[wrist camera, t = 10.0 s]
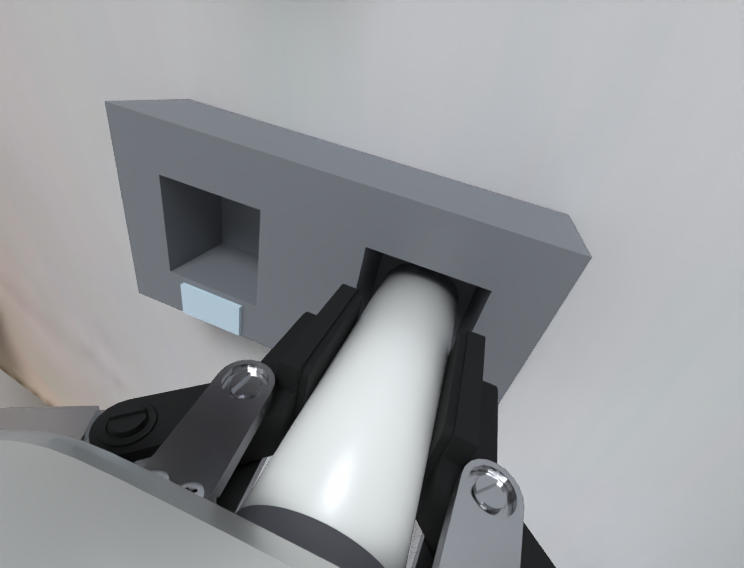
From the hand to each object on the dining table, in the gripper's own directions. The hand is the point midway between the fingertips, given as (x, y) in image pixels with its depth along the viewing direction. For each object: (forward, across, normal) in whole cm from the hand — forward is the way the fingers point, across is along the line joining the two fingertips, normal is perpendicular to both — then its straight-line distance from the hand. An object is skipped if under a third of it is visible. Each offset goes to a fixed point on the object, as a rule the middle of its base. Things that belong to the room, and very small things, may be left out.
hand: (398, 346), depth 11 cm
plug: (+3, 0, 0) cm, 3 cm away
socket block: (+6, +4, 0) cm, 7 cm away
